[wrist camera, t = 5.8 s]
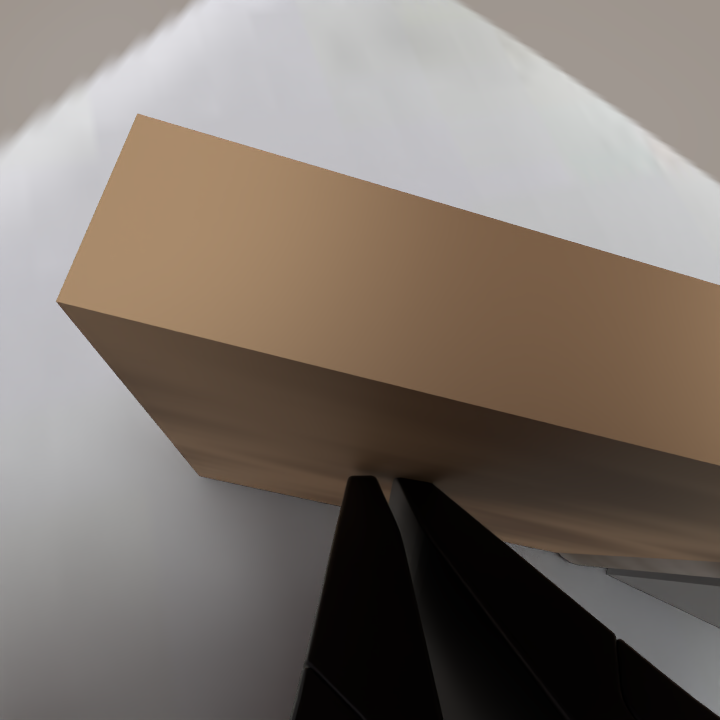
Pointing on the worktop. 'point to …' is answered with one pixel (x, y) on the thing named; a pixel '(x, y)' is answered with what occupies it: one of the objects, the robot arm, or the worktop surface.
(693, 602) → the grey rectangular prism
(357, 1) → the worktop surface
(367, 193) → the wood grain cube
